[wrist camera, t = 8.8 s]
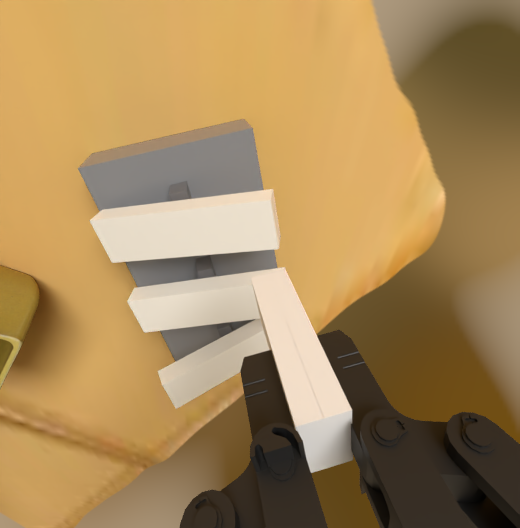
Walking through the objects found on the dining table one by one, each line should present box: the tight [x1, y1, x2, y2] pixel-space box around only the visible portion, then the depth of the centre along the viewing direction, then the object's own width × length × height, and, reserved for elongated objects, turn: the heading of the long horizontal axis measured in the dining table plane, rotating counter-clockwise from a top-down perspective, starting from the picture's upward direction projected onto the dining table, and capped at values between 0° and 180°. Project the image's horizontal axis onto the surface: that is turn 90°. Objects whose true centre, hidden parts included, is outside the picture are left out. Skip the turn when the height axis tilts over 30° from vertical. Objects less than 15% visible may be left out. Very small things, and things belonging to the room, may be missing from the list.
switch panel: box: [78, 119, 277, 361], centre depth 29 cm, size 12×22×6 cm, turn 10°
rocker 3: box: [158, 319, 269, 409], centre depth 29 cm, size 12×3×2 cm, turn 100°
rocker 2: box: [127, 267, 285, 333], centre depth 25 cm, size 12×3×2 cm, turn 100°
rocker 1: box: [90, 189, 280, 263], centre depth 21 cm, size 12×3×2 cm, turn 100°
